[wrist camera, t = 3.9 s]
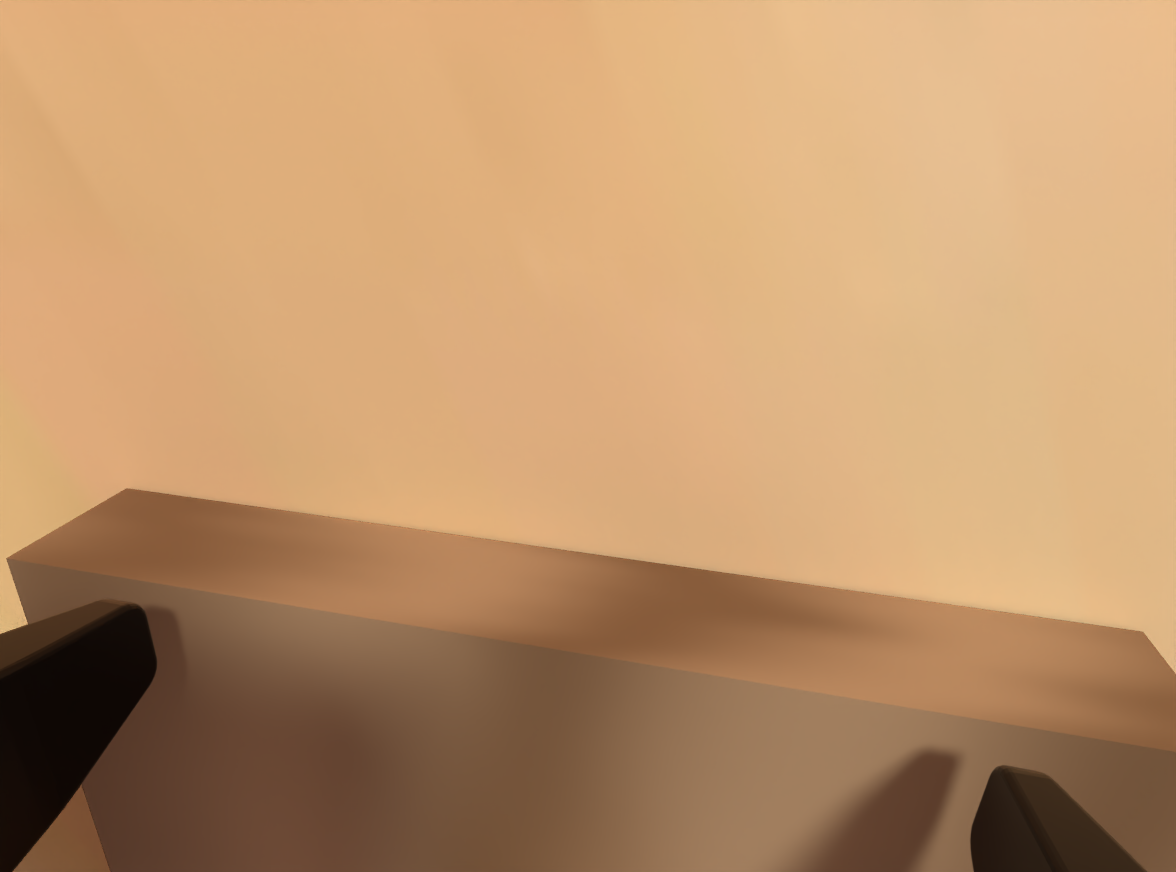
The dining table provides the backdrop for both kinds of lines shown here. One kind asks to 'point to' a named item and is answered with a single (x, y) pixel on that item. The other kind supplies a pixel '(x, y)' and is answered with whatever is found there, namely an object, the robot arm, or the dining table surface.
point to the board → (573, 707)
